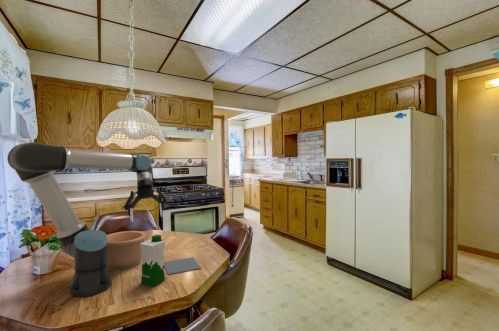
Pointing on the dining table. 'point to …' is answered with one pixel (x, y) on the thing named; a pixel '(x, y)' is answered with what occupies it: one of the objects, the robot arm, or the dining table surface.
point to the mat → (181, 265)
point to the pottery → (124, 249)
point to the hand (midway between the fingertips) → (146, 218)
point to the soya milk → (153, 261)
